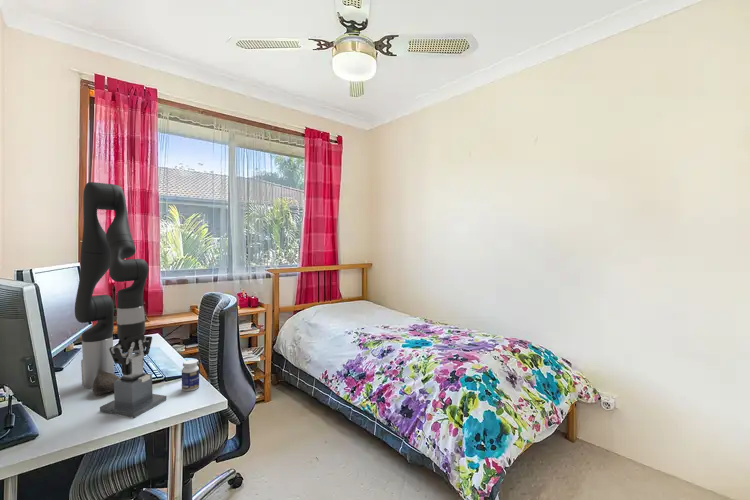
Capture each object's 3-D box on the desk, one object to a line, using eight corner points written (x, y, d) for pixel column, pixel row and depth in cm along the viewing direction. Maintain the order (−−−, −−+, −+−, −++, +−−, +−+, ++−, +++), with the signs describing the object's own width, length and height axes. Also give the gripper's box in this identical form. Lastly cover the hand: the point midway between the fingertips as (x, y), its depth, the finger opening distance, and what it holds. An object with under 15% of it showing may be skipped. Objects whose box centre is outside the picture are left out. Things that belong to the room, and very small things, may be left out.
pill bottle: (192, 392, 130) (191, 365, 129) (178, 390, 131) (177, 363, 130) (202, 385, 135) (202, 359, 135) (189, 384, 137) (188, 358, 136)
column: (122, 403, 118) (120, 357, 117) (134, 396, 123) (133, 353, 122) (133, 404, 117) (131, 359, 116) (145, 398, 121) (144, 354, 121)
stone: (110, 395, 136) (84, 382, 131) (128, 376, 138) (104, 363, 133) (108, 409, 128) (81, 397, 123) (128, 390, 130) (102, 376, 125)
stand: (99, 411, 116) (98, 380, 115) (133, 395, 128) (132, 366, 127) (134, 417, 112) (133, 385, 112) (166, 400, 124) (165, 370, 123)
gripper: (141, 314, 126) (142, 363, 127) (100, 325, 112) (102, 379, 113) (158, 316, 124) (160, 365, 125) (119, 326, 110) (121, 382, 111)
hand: (132, 371), depth 119 cm, fingers closed on column, 4 cm apart
